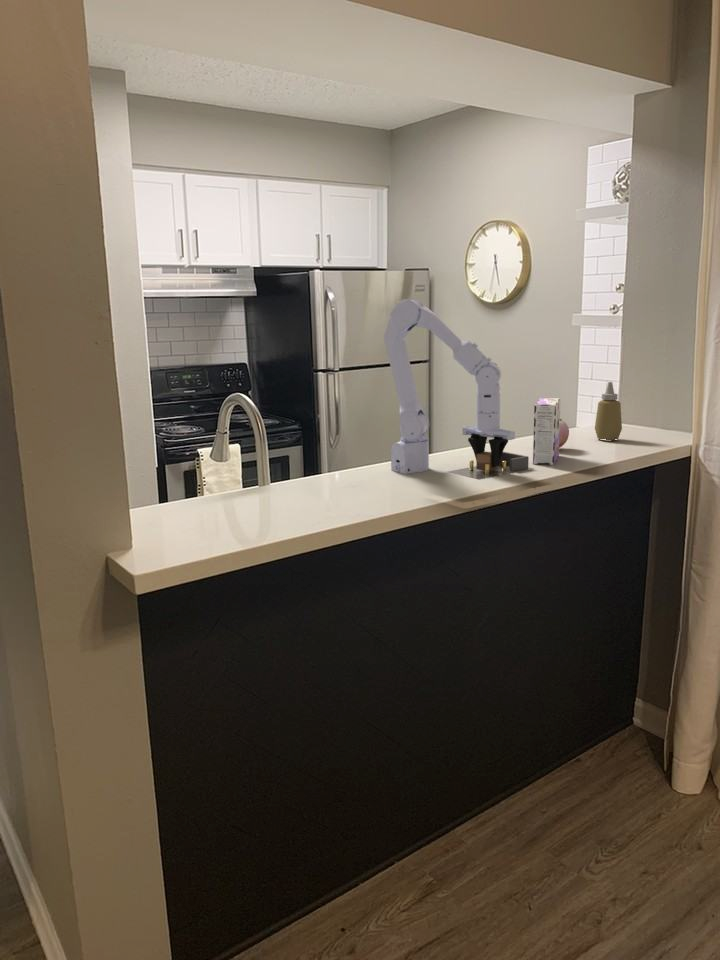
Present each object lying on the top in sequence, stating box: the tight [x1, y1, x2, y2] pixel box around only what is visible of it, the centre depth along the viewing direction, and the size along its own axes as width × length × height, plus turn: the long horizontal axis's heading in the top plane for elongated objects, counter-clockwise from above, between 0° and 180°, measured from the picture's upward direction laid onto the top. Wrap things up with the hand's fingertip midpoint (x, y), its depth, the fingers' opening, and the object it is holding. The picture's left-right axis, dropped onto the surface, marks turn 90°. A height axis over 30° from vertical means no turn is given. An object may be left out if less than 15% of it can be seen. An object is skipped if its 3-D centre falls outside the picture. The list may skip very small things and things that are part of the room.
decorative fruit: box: [559, 418, 570, 449], centre depth 228 cm, size 9×8×10 cm
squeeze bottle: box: [594, 381, 623, 440], centre depth 240 cm, size 8×8×18 cm
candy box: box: [532, 397, 561, 466], centre depth 213 cm, size 14×6×16 cm, turn 161°
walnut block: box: [475, 451, 499, 471], centre depth 197 cm, size 4×4×4 cm
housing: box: [499, 451, 529, 471], centre depth 201 cm, size 6×9×3 cm, turn 34°
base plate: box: [446, 460, 535, 480], centre depth 198 cm, size 19×12×4 cm, turn 124°
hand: (487, 465), depth 197 cm, fingers closed on walnut block, 4 cm apart
